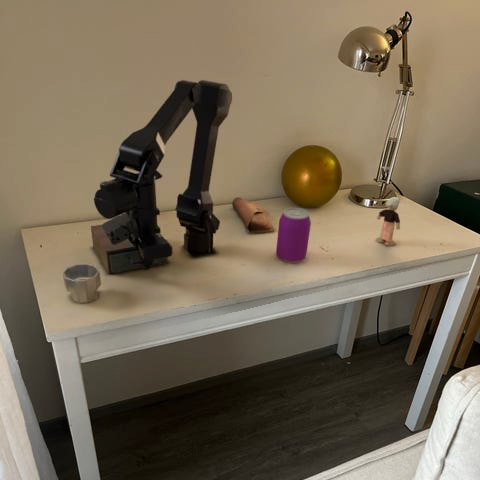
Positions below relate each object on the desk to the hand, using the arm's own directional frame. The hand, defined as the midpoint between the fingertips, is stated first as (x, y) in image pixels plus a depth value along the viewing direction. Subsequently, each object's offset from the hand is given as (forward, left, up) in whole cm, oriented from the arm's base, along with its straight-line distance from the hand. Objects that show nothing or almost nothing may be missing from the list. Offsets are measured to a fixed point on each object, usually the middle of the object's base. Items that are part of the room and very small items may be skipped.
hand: (146, 269), depth 114 cm
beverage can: (-37, +2, -3) cm, 37 cm away
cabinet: (0, -14, -3) cm, 14 cm away
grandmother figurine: (-66, +4, -3) cm, 66 cm away
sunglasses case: (-39, -22, -3) cm, 45 cm away
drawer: (0, -10, -2) cm, 10 cm away
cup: (+14, +1, -3) cm, 15 cm away
